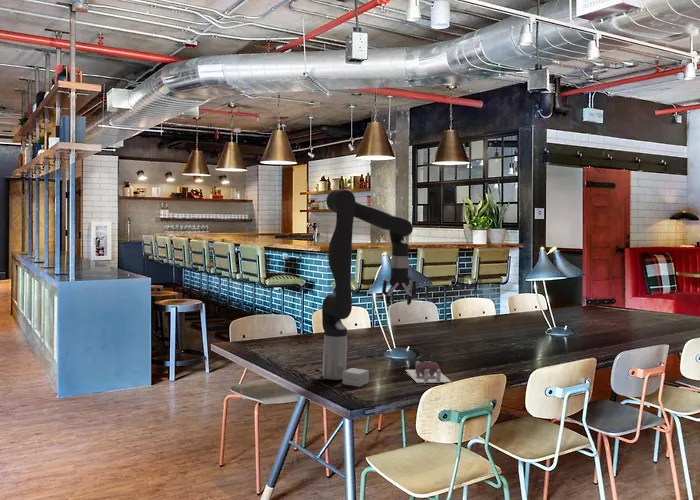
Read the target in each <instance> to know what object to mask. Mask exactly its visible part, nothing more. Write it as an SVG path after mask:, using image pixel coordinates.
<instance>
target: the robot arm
mask: <svg viewBox="0 0 700 500" xmlns="http://www.w3.org/2000/svg"><path fill="white" fill-rule="evenodd" d="M325 202H326V205H327V208H328V209H329V210H330V211H331V212H333V213H336V218H335V219H336V221H335V227H334V230H333V234H332V236H331V238H330V241H329V244H328V245H329V246H328V265H329V269H330V272H331V274H332V277H333V279H334V284H335V285H334V286H335V293H334V294H332V293H331V294H328V295H326V296H325V297H324V299H323V301H322V305H321V306H322V307H321V317H322V318H321V320H322V321H321V322H322V329H323V334H324V335H323V352H322V377H323V378H322V379H323V380H334V381H335V380H336V381H337V380H343V371H345V370H347V354H348V353H347V350H348V349H347V348H348V347H347V346H348V328H347V326H345V324H343V322H342V320H345V319H348V318H349V316H350V315H351V313H352V309H353V301H352V299H353V298H352V296H353V295H352V283H351V282H352V256H353V255H352V254H353V252H352V250H353V246H352V245H353V229H354V226H353V225H354V220H355V219H354V218H356V219H358V220H361V221H363V222H364V223H365V222H366V223H368V224H370V225H371V226H372V225H373V226H374V227H378V228H379V229H381V230H386V231H389V236H390V237H389V238H390V242H391V260H390V279H389V280H386V279H383V280H382V286H381V287H382V290H381V293H382V294H383V295H385V303H386V305H389V306H390V305H391V294H392V293H393V292H394V291H401V292H402V291H405V292H406V294H407V297H406V304H407V306H410V304H411V303H412V296H415V295H416V294H417V287H416V286H417V283H416V280H409V273H410V272H409V271H410V269H409V264H410V262H409V261H410V259H409V256H410V255H409V253H410V251H409V250H410V247H409V246H410V245H409V243H408V242H406V241H405V237H407V236H410V235H411V234H412V233H413V229H414V227H413V224H412V222H411V221H410V220H408V219H406V218H403V217H400V216H397V215H393V214H390V213H389V212H387V211H384V210H382V209H379V208H377V207H373V206H370V205H366V204H364V203H360V202H358V201H356V197H355V194H354V192H352V191H351V190H350V189H337V190H333V191H330V192H329V193H328V195H327V197H326V201H325ZM388 285H390V287H389V288H388V290H387V286H388ZM408 285H410V286H411V291H410V289H409V288H408Z"/></svg>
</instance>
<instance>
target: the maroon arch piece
mask: <svg viewBox="0 0 700 500" xmlns="http://www.w3.org/2000/svg"><path fill="white" fill-rule="evenodd" d="M430 361H431V360H429V361H427V360H426V361H425V360H423V361H419V362H420V363H418V364H417V365H416V364H415V370H416V374H417V377H420V373H421V375H423V376H424V370H427V369H430V371H429V375H430V376H433V375H434V373H435V372H436V373H437V370H441V369H440V365H439V364H438V363H437V362H433V361H431V362H430Z"/></svg>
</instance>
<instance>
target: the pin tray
mask: <svg viewBox="0 0 700 500" xmlns="http://www.w3.org/2000/svg"><path fill="white" fill-rule="evenodd" d="M429 361H430V362H432V361H431V360H429ZM420 362H421V361H419V360H417V361H415V366H416V365H417V364H418V363H420ZM405 371H406V372H407V373H406V372H405V373H406V375H407V376H408V377H409V376H410V377H411V378H412V379H413V380H414V381H415V382H416V383H424V384H423V385H426V384H425V383H440V382H444V383H446V382H451V383H452V381H451V380H450V379H449V378H448V377H447V376H446V375H444V374H443V373H442V371H441V369H440V370H437V373H436V372H435V373H434V375H433V376H430V375H429V371H430V369H425V370H424V376H423V375H421V373H420V377H417V374H416V369H405ZM410 377H409V378H410ZM411 378H410V379H411ZM412 379H411V380H412ZM413 380H412V381H413ZM414 381H413V382H414ZM415 382H414V383H415ZM416 383H415V384H416Z"/></svg>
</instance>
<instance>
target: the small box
mask: <svg viewBox="0 0 700 500" xmlns="http://www.w3.org/2000/svg"><path fill="white" fill-rule="evenodd" d="M369 375H370V371H369V370H368V369H361V368H355V367H351V368H348V369H346V370H345V371H343V379H342V384H343V385H347V386H353V387H358V388H361V387H363V386H365V385H367V384H368V383H369V380H370V379H369V377H370V376H369Z"/></svg>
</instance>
